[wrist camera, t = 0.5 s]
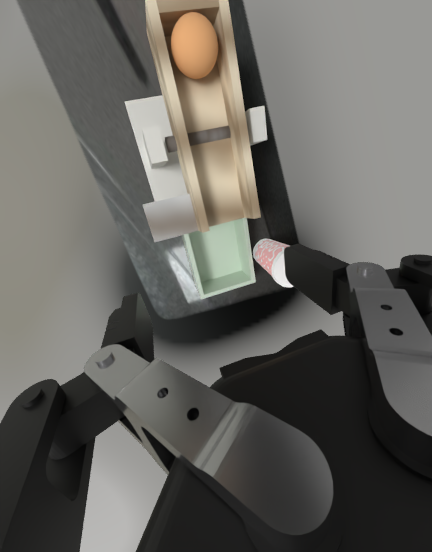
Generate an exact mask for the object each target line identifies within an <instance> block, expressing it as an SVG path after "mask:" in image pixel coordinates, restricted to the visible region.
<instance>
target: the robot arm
mask: <svg viewBox="0 0 432 552" xmlns="http://www.w3.org/2000/svg"><path fill="white" fill-rule="evenodd" d="M284 263H285V275H286V278H287V280H288V282H289V283H290V284H291V285H293V286H294V287H295V288H297V289H298V290H299V291H301V292H302V293H303V294H304V295H306V296H307V297H308V298H310V299H311V300H312V301H314V302H315V303H316V304H317V305H319V306H320V307H321V308H323V309H324V310H325V311H327V312H328V313H329V314H331V315H332V314H335V313H338V312H340V311H343V325H344V332H345V336H328V335H327V334H326V333H324V332H323V331H322V330H318V331H316V332H313V333H310V334H308V335H305V336H303V337H300V338H298V339H296V340H295V341H293V342H292V343H290V344H289V345H287V346H286V347H284V348H283V349H282V350H280V351H279V352H277V353H274V354H269V355H262V356H256V357H250V358H245V359H242V360H240V361H237V362H234V363H231V364H229V365H226V366H224V367H221V368H220V372H221V375H222V377H221V378H220V379H219V380H217V381H216V382H215V383H214V384H212V386H211V387H208V386H206V385H204V384H202V383H201V382H199V381H197V380H195V379H194V378H192V377H190V376H188V375H187V374H185V373H183V372H181V371H180V370H178V369H176V368H174V367H173V366H171V365H169V364H167V363H165V362H164V361H162V360H160V359H158V358H155V359H154V345H153V327H152V322H151V319H150V316H149V314H148V311H147V309H146V307H145V304H144V302H143V299H142V297H141V295H140V293H139V292H138V293H134V294H131V295H128V296H124V297H123V301H122V306H121V308H119V309H116V310H115V311H114V312H113V313H112V314H111V316H110V317H109V320H108V325H107V328H106V332H105V335H104V339H103V342H102V346H101V349H100V350H98V351H97V352H95V353H94V354H93V355H92V356H91V357H90V358H89V359H88V361H87V362H86V364H85V366H84V372H83V373H82V374H81V375H79V376H77V377H76V378H74V379H72V380H70V381H68V382H67V383H65V384H63V385H61V386H60V385H59V384H58V383H57V381H56V380H53V379H48V380H44V381H41V382H38V383H36V384H34V385H32V386H31V387H29V388H28V389H26V390H25V391H24V392H23V393H21V394H20V395H19V396H18V397H17V398H16V399H15V400H14V401H13V402H12V404H11V405H10V407H9V409H8V410H7V412H6V414H5V416H4V418H3V420H2V421H1V423H0V552H79V551H80V543H81V536H82V530H83V521H84V515H85V507H86V500H87V494H88V486H89V479H90V471H91V464H92V458H93V450H94V443H95V437H96V436H97V435H98V434H100V433H101V432H103V431H104V430H106V429H107V428H108V427H110V426H111V425H113V424H114V423H115V422H117V421H118V422H119V423H120V424H121V425H122V426H123V427H124V428H125V429H126V430H127V431H128V432H129V433H130V434H131V435H132V436H133V437H134V438H135V439H136V440H137V441H138V442H139V443H140V444H141V445H142V446H143V447H144V448H145V449H146V450H147V451H148V452H149V454H150V455H151V456H152V457H153V459H154V460H155V461H156V462H157V464H158V465H159V466H160V467H161V468H162V469H163V470H164V471H165V472H166V474H167V475H168V476H167V479H166V481H165V484H164V486H163V488H162V491H161V493H160V496H159V498H158V500H157V503H156V505H155V507H154V510H153V512H152V514H151V517H150V519H149V522H148V524H147V526H146V529H145V531H144V533H143V536H142V538H141V540H140V543H139V545H138V548H137V550H136V552H432V256H429V255H409V256H405V257H403V258H402V259H401V262H400V268H395V269H388V270H385V269H384V268H383V267H382V266H380V265H378V264H374V263H368V262H358V263H353V264H348V263H346V262H343V261H341V260H339V259H337V258H334V257H332V256H330V255H327V254H325V253H323V252H321V251H317V250H312V249H310V248H307V247H305V246H303V245H301V244H295V245H292V246H289V247H286V248H285V249H284Z"/></svg>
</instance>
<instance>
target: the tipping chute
mask: <svg viewBox="0 0 432 552" xmlns="http://www.w3.org/2000/svg"><path fill="white" fill-rule="evenodd" d="M145 4H146V23H147V35H148V39H149V43H150V47H151V51H152V55H153V59H154V63H155V67H156V71H157V75H158V79H159V83H160V87H161V91H162V95H163V99H164V102H165V106H166V110H167V114H168V118H169V122H170V126H171V130H172V134H173V136H168V137H165V143H166V147H167V150H168V153H170V152H175V151H177V154H178V158H179V162H180V166H181V170H182V174H183V178H184V182H185V185H186V189H187V193H188V194H185V195H181V196H177V197H173V198H169V199H164V200H160V201H156V202H152V203H148V204H143V208H144V211H145V214H146V217H147V220H148V223H149V226H150V230H151V233H152V236H153V239H154V242H158V241H161V240H165V239H169V238H173V237H176V236H180V235H184V234H188V233H191V232H195V231H200V232H202V233H204V232H207V231H210V230H209V227H211V226H215V225H219V224H222V223H226V222H230V221H234V220H237V219H241V218H251V219H256V218H259V217H261V216H260V209H259V202H258V196H257V189H256V182H255V176H254V169H253V162H252V156H251V149H250V142H249V136H248V129H247V122H246V116H245V109H244V102H243V96H242V89H241V83H240V76H239V69H238V63H237V56H236V49H235V43H234V36H233V29H232V23H231V16H230V9H229V3H228V0H145ZM189 12H197V13H200V14H202V15H203V16H205V17H206V18H207V19H208V20H209V21H210V23H211V24H212V26H213V28H214V30H215V32H216V36H217V41H218V55H217V60H216V63H215V65H214V67H213V69H212V70H211V72H210V73H209V74H208V75H206V76H205V77H203V78H200V79H192V78H189V77H187V76H185V75H184V74H183V73H182V72H181V71H180V70H179V68H178V67H177V65H176V63H175V61H174V59H173V55H172V50H171V36H172V32H173V28H174V26H175V24H176V22H177V21H178V20H179V18H180V17H181V16H183V15H184V14H186V13H189Z"/></svg>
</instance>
